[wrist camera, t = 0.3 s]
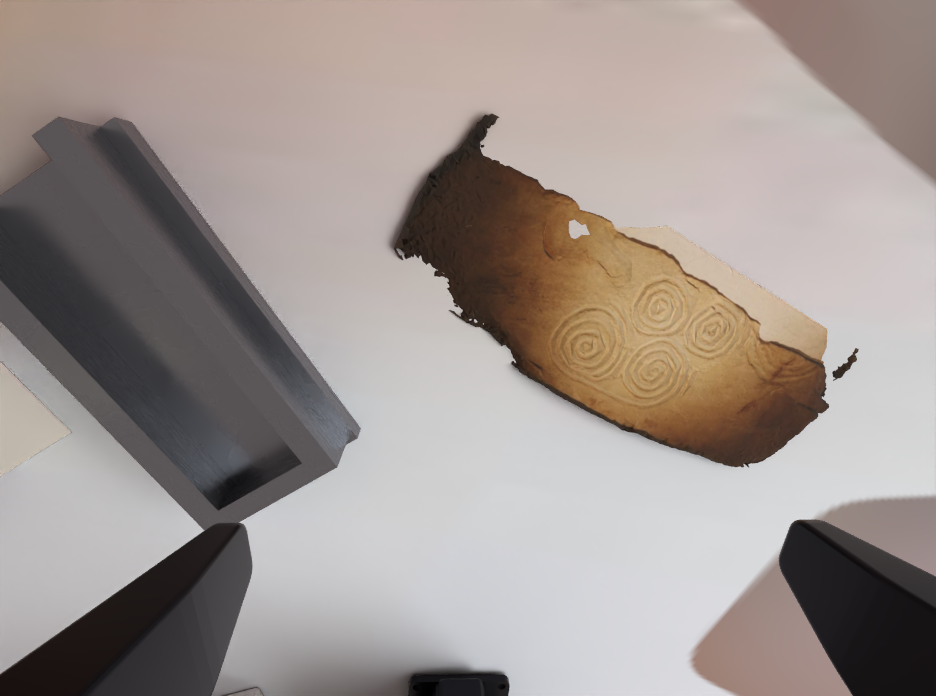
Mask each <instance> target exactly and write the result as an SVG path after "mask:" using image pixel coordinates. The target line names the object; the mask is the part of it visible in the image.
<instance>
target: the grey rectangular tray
mask: <svg viewBox="0 0 936 696" xmlns="http://www.w3.org/2000/svg"><path fill="white" fill-rule="evenodd" d="M32 137H33V138H34V139H35V140H36V141H37V143H38V144H39V145H40V146H41V147H42V149H43V150H44V151H45V152H46V153H47V155H48V156H49V157H50V158H51V160H52V161H50V162H49V163H47V164H46V165H44V166H43V167H41V168H40V169H38V170H37V171H36V172H34V173H33V174H31V175H30V176H28V177H27V178H25V179H24V180H22V181H21V182H20V183H18V184H17V185H15V186H14V187H12V188H11V189H9V190H8V191H6V192H5V193H3V194H2V195H1V196H0V321H1V322H2V323H3V324H4V325H5V326H6V327H7V328H8V329H9V330H10V331H11V332H12V333H13V334H14V335H15V336H16V337H17V338H18V339H19V341H20V342H21V343H22V344H23V345H24V346H25V347H26V348H27V349H28V350H29V351H30V352H31V353H32V354H33V355H34V356H35V357H36V358H37V359H38V360H39V361H40V362H41V363H42V364H43V365H44V366H45V367H46V368H47V369H48V370H49V371H50V372H51V373H52V374H53V375H54V376H55V377H56V378H57V380H58V381H59V382H60V383H61V384H62V385H63V386H64V387H65V388H66V389H67V390H68V391H69V392H70V393H71V394H72V395H73V396H74V397H75V398H76V399H77V400H78V401H79V402H80V403H81V404H82V405H83V406H84V407H85V408H86V409H87V410H88V411H89V412H90V413H91V414H92V415H93V416H94V417H95V419H96V420H97V421H98V422H99V423H100V424H101V425H102V426H103V427H104V428H105V429H106V430H107V431H108V432H109V433H110V434H111V435H112V436H113V437H114V438H115V439H116V440H117V441H118V442H119V443H120V444H121V445H122V446H123V447H124V448H125V449H126V450H127V451H128V452H129V453H130V454H131V455H132V456H133V458H134V459H135V460H136V461H137V462H138V463H139V464H140V465H141V466H142V467H143V468H144V469H145V470H146V471H147V472H148V473H149V474H150V475H151V476H152V477H153V478H154V479H155V480H156V481H157V482H158V483H159V484H160V485H161V486H162V487H163V488H164V489H165V490H166V491H167V492H168V493H169V494H170V495H171V497H172V498H173V499H174V500H175V501H176V502H177V503H178V504H179V505H180V506H181V507H182V508H183V509H184V510H185V511H186V512H187V513H188V514H189V515H190V516H191V517H192V518H193V519H194V520H195V521H196V522H197V523H198V524H199V525H200V526H201V527H202V528H203V529H204V530H206V529H208V528H209V527H211V526H213V525H214V524H217V523H238V522H240V521H242V520H244V519H246V518H247V517H249V516H251V515H253V514H254V513H256V512H258V511H260V510H262V509H263V508H265V507H267V506H269V505H271V504H272V503H274V502H276V501H278V500H279V499H281V498H283V497H285V496H287V495H288V494H290V493H292V492H294V491H296V490H297V489H299V488H301V487H303V486H304V485H306V484H308V483H310V482H312V481H313V480H315V479H317V478H319V477H321V476H322V475H324V474H326V473H328V472H329V471H331V470H333V469H335V468H337V467H338V464H339V461H340V459H341V456H342V453H343V451H344V448H345V445H346V444H348V443H350V442H352V441H353V440H355V439H357V438H358V435H359V432H360V429H361V428H360V427H359V426H358V424H357V423H356V422H355V420H354V419H353V418H352V416H351V415H350V414H349V412H348V411H347V410H346V408H345V407H344V406H343V404H342V403H341V402H340V400H339V399H338V398H337V396H336V395H335V394H334V392H333V391H332V390H331V388H330V387H329V386H328V384H327V383H326V382H325V380H324V379H323V378H322V376H321V375H320V373H319V372H318V371H317V369H316V368H315V367H314V365H313V364H312V363H311V361H310V360H309V359H308V357H307V356H306V355H305V353H304V352H303V351H302V349H301V348H300V347H299V345H298V344H297V343H296V341H295V340H294V339H293V337H292V336H291V335H290V333H289V332H288V331H287V329H286V328H285V327H284V325H283V324H282V323H281V321H280V320H279V319H278V317H277V316H276V315H275V313H274V312H273V311H272V309H271V308H270V307H269V305H268V304H267V303H266V301H265V300H264V299H263V297H262V296H261V295H260V293H259V292H258V291H257V289H256V288H255V287H254V285H253V284H252V283H251V281H250V280H249V279H248V277H247V276H246V275H245V273H244V272H243V271H242V269H241V268H240V267H239V265H238V264H237V263H236V261H235V260H234V259H233V257H232V256H231V255H230V253H229V252H228V251H227V249H226V248H225V247H224V245H223V244H222V243H221V241H220V240H219V239H218V237H217V236H216V235H215V233H214V232H213V231H212V229H211V228H210V226H209V225H208V224H207V222H206V221H205V220H204V218H203V217H202V216H201V214H200V213H199V212H198V210H197V209H196V208H195V206H194V205H193V204H192V202H191V201H190V200H189V198H188V197H187V196H186V194H185V193H184V192H183V190H182V189H181V188H180V186H179V185H178V184H177V182H176V181H175V180H174V178H173V177H172V176H171V174H170V173H169V172H168V170H167V169H166V168H165V166H164V165H163V164H162V162H161V161H160V160H159V158H158V157H157V156H156V154H155V153H154V152H153V150H152V149H151V148H150V146H149V145H148V144H147V142H146V141H145V140H144V138H143V137H142V136H141V134H140V133H139V132H138V130H137V129H136V128H135V126H134V125H133V124H132V122H129V121H126V120H122V119H119V118H115V117H114V118H113V119H111V120H110V121H108V122H107V123H106V124H104V125H103V126H101V127H98V126H94V125H90V124H86V123H81V122H77V121H73V120H69V119H65V118H61V117H58V118H56V119H55V120H53V121H52V122H50V123H49V124H48V125H46V126H45V127H43V128H42V129H40V130H39V131H38V132H36V133H35V134H33V135H32Z"/></svg>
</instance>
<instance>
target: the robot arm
mask: <svg viewBox="0 0 936 696" xmlns="http://www.w3.org/2000/svg"><path fill="white" fill-rule="evenodd" d="M779 566H780V569H781V572H782V574H783V576H784V577H785V579H786V581H787V583H788V585H789V587H790V588H791V590H792V592H793V593H794V596H795V597H796V599H797V601H798V603H799V604H800V606H801V608H802V610H803V612H804V613H805V615H806V617H807V619H808V621H809V623H810V624H811V626H812V628H813V630H814V632H815V633H816V635H817V637H818V639H819V641H820V642H821V644H822V646H823V648H824V649H825V651H826V653H827V655H828V657H829V658H830V660H831V662H832V664H833V665H834V667H835V669H836V670H837V672H838V674H839V675H840V677H841V678H842V680H843V681H844V683H845V685H846V686H847V688H848V689H849V691H850V692H851V694H852V695H853V696H936V577H935V576H934V575H932V574H930V573H928V572H926V571H924V570H922V569H920V568H917V567H916V566H914V565H911V564H910V563H907V562H906V561H903V560H901V559H899V558H897V557H895V556H893V555H891V554H889V553H887V552H885V551H883V550H881V549H879V548H877V547H875V546H873V545H871V544H869V543H867V542H865V541H863V540H861V539H859V538H857V537H855V536H853V535H851V534H849V533H847V532H845V531H843V530H841V529H839V528H837V527H835V526H833V525H831V524H829V523H827V522H825V521H821V520H796V521H794V522H793V523H792V524H791V526H790V528H789V530H788V533H787V536H786V538H785V541H784V544H783V547H782V549H781V552H780V555H779ZM251 574H252V557H251V552H250V546H249V540H248V535H247V530H246V527H245V526H244V525H243V524H241V523H217V524H214V525H213V526H211V527H209V528H208V529H206V530H205V531H204V532H202V533H201V534H199V535H198V536H196V537H195V538H194V539H192V540H191V541H189V542H188V543H186V544H185V545H184V546H182V547H181V548H179V549H178V550H177V551H175V552H174V553H172V554H171V555H169V556H168V557H167V558H165V559H164V560H162V561H161V562H159V563H158V564H157V565H155V566H154V567H152V568H151V569H149V570H148V571H147V572H145V573H144V574H142V575H141V576H139V577H138V578H137V579H135V580H134V581H132V582H131V583H129V584H128V585H127V586H125V587H124V588H122V589H121V590H119V591H118V592H117V593H115V594H114V595H112V596H111V597H109V598H108V599H107V600H105V601H104V602H102V603H101V604H100V605H98V606H97V607H95V608H94V609H92V610H91V611H90V612H88V613H87V614H85V615H84V616H82V617H81V618H80V619H78V620H77V621H75V622H74V623H72V624H71V625H70V626H68V627H67V628H65V629H64V630H62V631H61V632H60V633H58V634H57V635H55V636H54V637H52V638H51V639H50V640H48V641H47V642H45V643H44V644H42V645H41V646H40V647H38V648H37V649H35V650H34V651H32V652H31V653H30V654H28V655H27V656H25V657H24V658H23V659H21V660H20V661H18V662H17V663H15V664H14V665H13V666H11V667H10V668H8V669H7V670H5V671H4V672H3V673H1V674H0V696H211V695H212V692H213V690H214V687H215V684H216V682H217V679H218V676H219V673H220V670H221V667H222V664H223V661H224V658H225V655H226V652H227V649H228V646H229V643H230V640H231V637H232V634H233V631H234V628H235V625H236V622H237V618H238V615H239V612H240V609H241V606H242V603H243V600H244V597H245V594H246V591H247V588H248V585H249V582H250V579H251ZM508 693H509V680H508V677H507V676H505V675H418V676H413V677H411V678H410V680H409V690H408V696H508Z"/></svg>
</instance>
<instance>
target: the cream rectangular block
mask: <svg viewBox="0 0 936 696" xmlns="http://www.w3.org/2000/svg"><path fill="white" fill-rule="evenodd" d="M70 433H71V431H70V430H69V429H68V428H67V427H66V426H65V425H64V424H63V423H62V422H61V421H60V420H59V419H58V418H57V417H56V416H55V415H54V414H53V413H52V412H50V411H49V410H48V409H47V408H46V407H45V406H44V405H43V404H42V403H41V402H40V401H39V400H38V399H37V398H36V397H35V396H34V395H33V394H32V393H31V392H30V391H29V390H28V389H27V388H26V387H25V386H24V385H23V384H22V383H21V382H20V381H19V380H18V379H17V378H16V377H15V376H14V375H13V374H12V373H11V372H10V371H9V370H8V369H7V368H6V367H5V366H4V365H3V364H2V363H1V362H0V476H2V475H3V474H5V473H6V472H8V471H10V470H11V469H13V468H15V467H16V466H18V465H19V464H21V463H23V462H24V461H26V460H28V459H29V458H31V457H32V456H34V455H36V454H37V453H39V452H41V451H42V450H44V449H45V448H47V447H49V446H50V445H52V444H54V443H55V442H57V441H58V440H60V439H62V438H63V437H65V436H67V435H68V434H70Z"/></svg>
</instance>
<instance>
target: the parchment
mask: <svg viewBox="0 0 936 696" xmlns="http://www.w3.org/2000/svg"><path fill="white" fill-rule="evenodd" d="M497 118H499V117H498V116H496V115H494V114H491V115H489V116H488V115H485V116H484V117H483V119H482V120H481V121H480V122H478V123H477V126H476V127H475V129H473V130H471V132H470V134H469V136H468V138H467V139H466V141H465V142H464V143H463V144H462V146H461V148H460V149H459V150H457V151H456V152H454V153H453V154H451V155H449V156H447V157H446V159H445V161H444V162H443V164H442V165H441V166H439V167H438V168H437V169H436V170H435V171H433V172H432V173H430V174H429V177H428V179H427V182H426V184H425V186H424V187H423V189H422V190H421V191H420V192H419V194H418V196H417V198H416V200H415V203H414V205H413V207H412V209H411V212H410V214H409V216H408V218H407V220H406V222H405V225H404V227H403V229H402V232H401V234H400V237H399V239H398V241H397V243H396V245H395V248H394V249H395V251H396V253H397V254H398V256H399V258H401V259H402V260H403V258H402V255H401V256H400V255H399V253H398V251H397V250H396V249H397V248H399V249H401V250H402V251H404V252H405V253H406V254H405V255H404V256H405V259H407V258H410V257H411V256H412V257H414V254H415V255H416V256H417V257H418V258H419V256H420V255H421V256H422V261H423V262H424V263H425V264H426V265H427V264H428V263H430V264H431V265H432V267H433V268H435V269H437V270H438V271H437V270H436V271H435V274H434V276H438V277H440V276H443V277H445V278H446V277H447V278H448V279H449V282H447V283H448V284H449V286H450V287H449V288H447V289H448V290H449V292H450V293H451V295H452V297H453V299H454V300H453V302H454V303H455V304H457V305H455V307H458V306H459V307H460V308H461V309H462V310H463V312H462V313H461V317H460V316H459V315H457V314H456V313H455V312H454V311H451V310H449V311H451V312H453V313H454V314H455V315H456V316H457V317H459V318H461V319H462V320H464V321H465V322H466V323H469V324H471V325H473V326H475V327H482V328H483V329H484V330H486V331H488V332H490V333H491V334H492V336H493V337H494V338H495V339H496V340H497V341H498V342H500V343H501V344H502V346H503V345H506V346H507V347H508V348H509V349H510V350H511V353H512V354H513V358H514V359H515V360H516V363H517V364H516V363H514V361H512V364H513V365H514V366H515V367H516V368H518V369H519V371H520V372H521V373H523V374H524V375H526V376H527V377H528V378H530V379H533V380H534V381H536V382H538V383H540V384H542V385H544V386H545V387H546V388H548V389H550V390H551V391H552V392H553V393H555V394H556V395H558V396H560V397H562V398H564V399H565V400H567V401H569V402H571V403H573V404H575V405H577V406H578V407H580V408H583V409H584V410H586V411H588V412H590V413H591V414H594V415H596V416H598V417H600V418H602V419H604V420H606V421H607V422H610V423H612V424H614V425H616V426H617V427H619V428H620V429H621V430H624V431H627V432H633V433H638V434H640V435H641V436H643V437H646V438H648V439H650V440H653V441H655V442H658V443H660V444H664V445H666V446H669V447H671V448H676V449H678V450H682V451H687V452H690V453H692V454H696V455H700V456H703V457H704V458H708V459H710V460H711V461H715V462H717V463H722V464H723V465H728V466H731V467H733V466H734V467H739V466H741V467H744V465H743V463H744V464H746V466H748V464H750V463H758V462H761V461H763V460H765V459H766V458H768V457H770V456H771V455H773V454H775V452H777V451H778V450H779V449H781V448H782V447H784V446H785V445H786V444H787V442H788V441H789V440H791V439H792V438H793V437H794V436H795V435H798V434H799V433H800V432H801V431H802V430H803V429H804V428H805V427H806V426H807V425H808V424H809V423H810V422H812V421H814V420H815V419H817V417H818V413H823V412H824V411H826V410H827V409H828V408H829V404H827V403H826V401H824V400H823V399H822V396H823V397H824V395H825V393H824V392H825V390H826V383H825V379H826V373H825V367H824V365H823V363H824V362H823V361H821V359H822V356H823V354H824V351H825V349H826V345H827V329H826V328H824V327H823V326H822V325H820V324H818V323H817V322H815V321H813V320H812V319H811V318H809V317H807V316H806V315H804V314H803V313H801V312H800V311H798V310H797V309H795V308H794V307H792V306H790V305H789V304H787V303H786V302H784V301H783V300H780V298H777V297H776V296H774V295H773V294H771V293H769V292H768V291H767V290H766V289H763V288H761V286H760V285H758V284H756V283H754V282H753V281H751V280H750V279H748V278H747V277H745V276H743V275H741V274H740V273H739V272H737V271H736V270H734V269H732V268H731V267H729V266H728V265H726V264H725V263H723V262H722V261H720V260H718V259H717V258H716V257H714V256H713V255H711V254H709V253H708V252H706V251H705V250H703V249H702V248H700V247H698V246H697V245H696V244H695V243H693V242H690V241H689V240H688V239H687V238H685V237H684V236H682V235H681V234H679V233H677V232H675V231H674V230H673V229H671V228H670V227H668V226H664V227H662V228H660V226H659V227H651V228H632V227H628V228H616V227H615V226H614V225H613V224H612V222H611V221H609V220H607V219H606V218H604V217H602V216H599V215H596V214H593V213H590V212H586V211H582V210H579V208H580V207H579V206H578V204H577V203H576V202H575V201H574V200H573V199H572V198H570V197H569V196H567V195H564V194H560V193H558V192H556V191H554V190H545V189H544V188H543V187H542V186H541V185H540V184H539V182H538V180H537V179H534V178H532V177H529V176H526V175H524V174H523V173H521V172H520V171H518V170H515V169H514V168H512V167H510V166H504V165H503V164H500V162H499V161H496V160H493V161H492V159H490V158H488V157H485V156H483V154H482V153H481V149H480V145H481V144H480V141H482V140H483V139H484V138H485V136H486V134H487V128H490V127H491V125H494V124H495V122H496V120H497ZM482 147H484V145H481V148H482ZM574 219H575V220H576V221H577V222H579V223H580V224H581V225H584V224H586V225H587V229H588V231H589V233H590V235H581V236H580V237H578V238H577V239H573V238H571V237H570V234H569V221H571V220H574ZM442 272H443V273H444V274H443V273H442ZM469 319H472V320H471V321H469ZM474 319H476V320H477V321H478V322H477V323H475V322H474ZM483 323H484V325H483ZM858 350H859V349H857V348H856V349H855V351H854V352H853V355H851V356H850V357H849V358H848V363H845V364H843V365H842V366H841V367H839V366H838V369H837V371H833V373H832V374H833V377H835V378H836V379H837V378H841V377H842V376H843V374H844V373H845V372H846V371H847V370H849V369H850V367H851V365H852V363H853V362H856V360H857V358H856V356H855V354H856V353H857V352H858ZM836 379H834V380H836ZM834 380H833V381H834ZM748 467H749V466H748Z"/></svg>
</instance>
